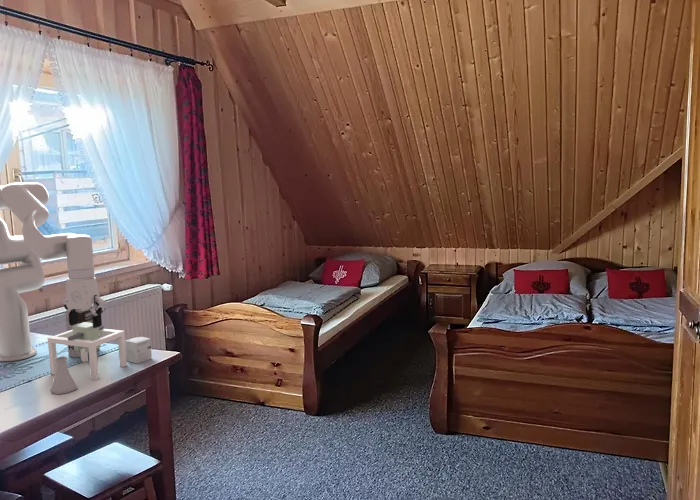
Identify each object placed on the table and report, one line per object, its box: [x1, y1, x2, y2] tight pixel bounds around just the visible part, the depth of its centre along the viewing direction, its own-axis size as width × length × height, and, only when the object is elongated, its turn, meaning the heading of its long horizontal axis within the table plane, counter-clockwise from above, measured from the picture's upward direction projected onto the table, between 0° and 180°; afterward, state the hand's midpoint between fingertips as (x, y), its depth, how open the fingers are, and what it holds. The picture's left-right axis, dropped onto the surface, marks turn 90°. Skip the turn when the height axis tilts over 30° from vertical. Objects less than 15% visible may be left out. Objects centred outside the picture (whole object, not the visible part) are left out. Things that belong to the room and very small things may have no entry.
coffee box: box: [64, 309, 101, 358], centre depth 200 cm, size 9×6×16 cm
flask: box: [50, 355, 78, 395], centre depth 167 cm, size 7×7×10 cm
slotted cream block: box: [72, 322, 101, 352], centre depth 183 cm, size 6×5×8 cm
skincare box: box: [125, 336, 153, 364], centre depth 193 cm, size 6×6×7 cm
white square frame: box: [47, 324, 128, 381], centre depth 183 cm, size 18×14×13 cm
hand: (85, 325), depth 182 cm, fingers open, 9 cm apart
